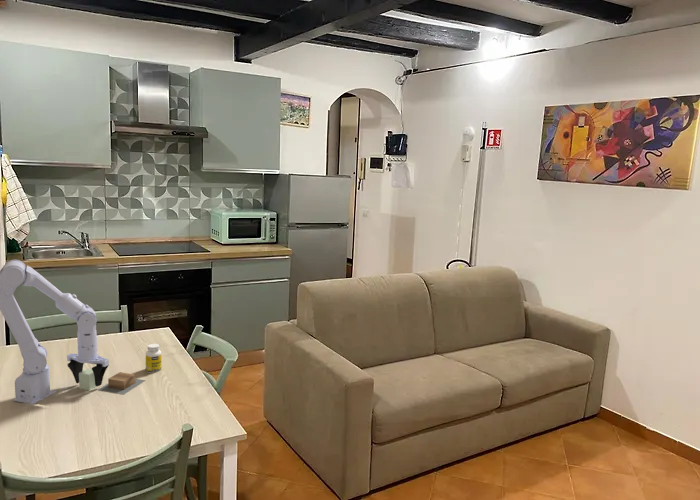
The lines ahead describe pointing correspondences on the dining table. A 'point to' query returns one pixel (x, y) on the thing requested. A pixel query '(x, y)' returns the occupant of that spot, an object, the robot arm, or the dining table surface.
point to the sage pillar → (87, 380)
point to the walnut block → (121, 380)
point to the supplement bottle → (153, 358)
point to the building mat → (119, 391)
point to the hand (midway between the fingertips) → (88, 383)
